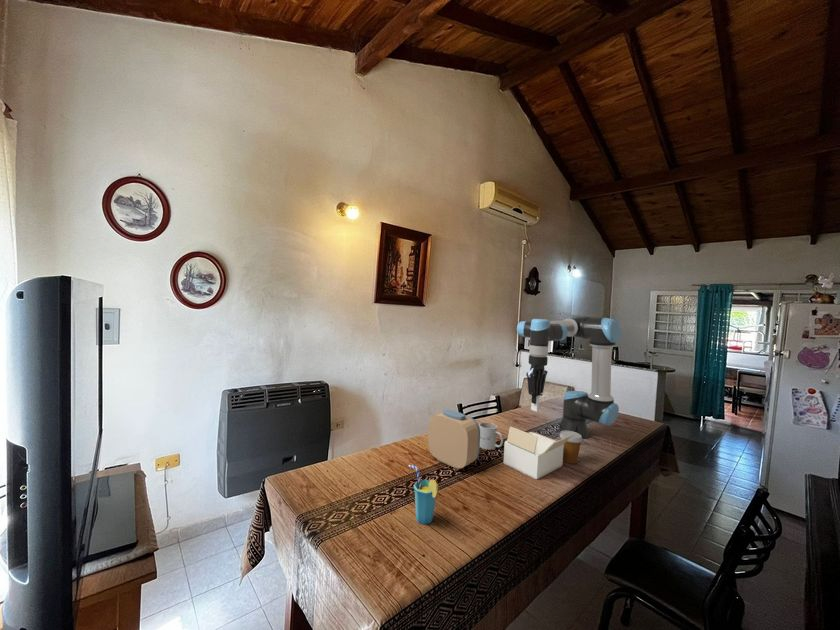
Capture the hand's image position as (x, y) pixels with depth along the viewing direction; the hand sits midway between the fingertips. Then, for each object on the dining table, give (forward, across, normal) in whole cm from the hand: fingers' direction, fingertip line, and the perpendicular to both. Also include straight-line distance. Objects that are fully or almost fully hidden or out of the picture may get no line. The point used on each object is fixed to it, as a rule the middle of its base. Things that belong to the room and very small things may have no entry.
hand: (534, 410), depth 141 cm
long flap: (+11, -2, +10) cm, 15 cm away
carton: (+24, -2, 0) cm, 24 cm away
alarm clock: (+25, +26, -22) cm, 42 cm away
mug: (+25, 0, -22) cm, 33 cm away
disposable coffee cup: (+25, -20, +7) cm, 32 cm away
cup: (+25, +60, -1) cm, 65 cm away
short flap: (+11, +7, -1) cm, 13 cm away
